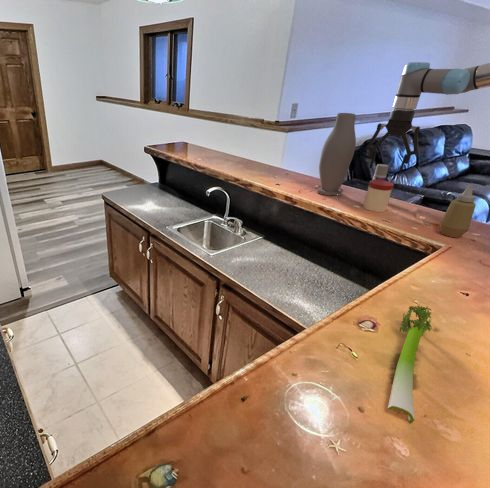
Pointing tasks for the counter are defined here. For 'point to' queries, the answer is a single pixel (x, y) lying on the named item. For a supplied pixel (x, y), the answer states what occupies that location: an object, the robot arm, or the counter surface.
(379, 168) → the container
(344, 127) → the vase
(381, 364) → the counter surface
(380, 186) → the lid
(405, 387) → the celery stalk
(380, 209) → the jar
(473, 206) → the squeeze bottle
